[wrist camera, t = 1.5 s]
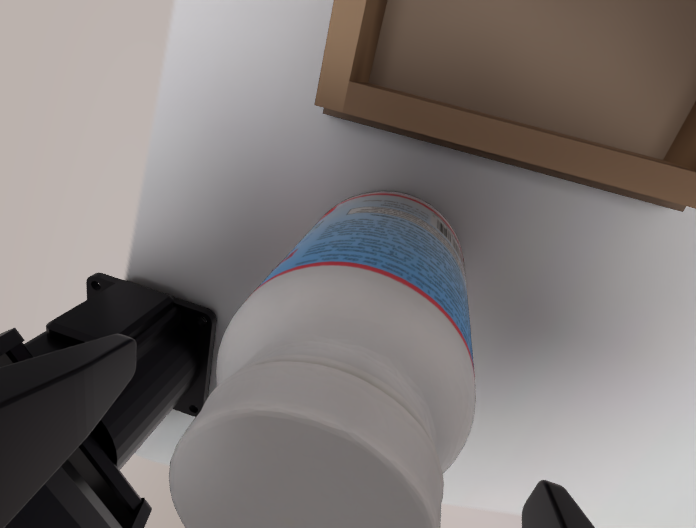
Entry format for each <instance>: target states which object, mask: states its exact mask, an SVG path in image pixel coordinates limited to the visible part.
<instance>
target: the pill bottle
mask: <svg viewBox="0 0 696 528" xmlns="http://www.w3.org/2000/svg"><path fill="white" fill-rule="evenodd" d="M216 381H217V387H216V388H215V389H214V390H213V392H212V393H211V394H210V395H209V397H208V398H207V400H206V402H205V404H204V406H203V407H202V410H201V411H200V413H199V414H198V415H197V417H196V418H195V419H194V421H193V422H192V423H191V425H190V426H189V428H188V429H187V430H186V432H185V433H184V434H183V436H182V438H181V439H180V441H179V442H178V444H177V446H176V449H175V451H174V454H173V456H172V459H171V462H170V472H169V483H170V491H171V496H172V500H173V503H174V506H175V509H176V511H177V513H178V515H179V517H180V519H181V521H182V523H183V524H184V526H185V528H440V521H441V519H440V518H441V502H442V498H443V486H444V483H443V473H444V472H445V471H446V470H447V469H448V468H449V467H450V466H451V464H452V463H453V462H454V461H455V459H456V458H457V456H458V455H459V453H460V452H461V450H462V448H463V447H464V445H465V443H466V440H467V438H468V436H469V433H470V430H471V426H472V423H473V418H474V412H475V401H476V397H475V374H474V364H473V353H472V343H471V331H470V320H469V309H468V299H467V288H466V278H465V268H464V259H463V254H462V250H461V246H460V243H459V240H458V238H457V236H456V234H455V232H454V230H453V228H452V227H451V225H450V224H449V223H448V221H447V220H446V219H445V218H444V217H443V216H442V215H441V214H440V213H439V212H438V211H437V210H436V209H435V208H433V207H432V206H431V205H429V204H427V203H426V202H424V201H422V200H420V199H418V198H416V197H413V196H410V195H407V194H403V193H398V192H386V191H383V192H371V193H365V194H360V195H357V196H354V197H351V198H348V199H346V200H344V201H342V202H341V203H339V204H337V205H336V206H335V207H333V208H332V209H331V210H330V211H329V212H328V213H326V214H325V215H324V216H323V217H322V218H321V219H320V220H319V221H318V223H317V224H316V225H315V226H314V227H313V228H312V229H311V230H310V231H309V232H308V234H307V235H306V236H305V237H304V238H303V239H302V240H301V241H300V242H299V243H298V244H297V245H296V247H295V248H294V249H293V250H292V251H291V252H290V253H289V254H288V255H287V256H286V257H285V258H284V260H283V261H282V262H281V263H280V264H279V265H278V266H277V267H276V268H275V269H274V270H272V272H271V274H270V275H269V276H268V277H267V278H266V279H265V280H264V281H263V282H262V284H261V285H260V286H259V287H258V288H257V289H256V290H255V291H254V292H253V293H252V294H251V295H250V296H249V297H248V299H247V300H246V301H245V302H244V304H243V305H242V306H241V307H240V308H239V310H238V311H237V312H236V314H235V315H234V316H233V318H232V319H231V321H230V323H229V325H228V327H227V329H226V331H225V333H224V336H223V338H222V341H221V345H220V348H219V351H218V358H217V369H216Z"/></svg>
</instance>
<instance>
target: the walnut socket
mask: <svg viewBox="0 0 696 528" xmlns="http://www.w3.org/2000/svg"><path fill="white" fill-rule="evenodd" d="M315 105H316V106H320V107H324V110H323V114H327V115H330V116H334V117H338V118H341V119H345V120H349V121H352V122H356V123H360V124H363V125H367V126H371V127H374V128H378V129H382V130H385V131H389V132H393V133H396V134H400V135H404V136H407V137H411V138H415V139H418V140H422V141H426V142H429V143H433V144H437V145H440V146H444V147H448V148H451V149H455V150H459V151H462V152H466V153H469V154H473V155H477V156H480V157H484V158H488V159H491V160H495V161H499V162H502V163H506V164H510V165H513V166H517V167H521V168H524V169H528V170H532V171H535V172H539V173H543V174H546V175H550V176H554V177H557V178H561V179H565V180H568V181H572V182H576V183H579V184H583V185H587V186H590V187H594V188H598V189H601V190H605V191H609V192H612V193H616V194H620V195H623V196H627V197H631V198H634V199H638V200H642V201H645V202H649V203H652V204H656V205H660V206H663V207H667V208H671V209H674V210H678V211H682V212H683V211H684V209H685V208H686V206H688V207H692V208H696V0H334V3H333V8H332V14H331V19H330V24H329V30H328V35H327V40H326V46H325V51H324V56H323V62H322V67H321V73H320V78H319V83H318V89H317V94H316V99H315Z"/></svg>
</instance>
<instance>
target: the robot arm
mask: <svg viewBox="0 0 696 528" xmlns="http://www.w3.org/2000/svg"><path fill="white" fill-rule="evenodd" d="M98 283H99V284H100V285H99V284H98ZM202 317H204V318H205V319H206V320H207V322H206V321H204V320H203V319H202ZM215 328H216V316H215V314H214V313H213V312H212V311H211V310H210V309H208V308H205V307H202V306H199V305H196V304H193V303H190V302H187V301H184V300H181V299H178V298H175V297H172V296H169V295H167V294H164V293H161V292H158V291H155V290H152V289H149V288H146V287H143V286H140V285H137V284H134V283H131V282H128V281H125V280H121V279H118V278H114V277H112V276H109V275H106V274H103V273H96V274H94V275H92V276H90V277H89V278H88V279H87V300H86V301H85V302H83V303H81V304H80V305H78V306H76V307H74V308H73V309H71V310H69V311H68V312H66V313H64V314H63V315H61V316H59V317H57V318H56V319H54V320H52V321H51V322H49V323H48V324H47V325H46V330H47V331H46V332H44V333H42V334H40V335H39V336H37V337H35V338H34V339H32V340H30V341H29V342H27V343H25V344H23V343H22V342H23V341H24V339H23V338H22V336H21V335H20V334H19V332H18V331H17V330H16V328H13V329H11V330H8V331H6V332H4V333H1V334H0V528H144V527H145V524H146V522H147V520H148V517H149V515H150V512H151V510H152V508H151V507H150V505H149V504H148V503H147V501H146V500H145V499H144V498H140V497H139V495H138V494H137V493H136V492H135V490H134V489H133V487H132V486H131V485H130V484H129V482H128V481H127V480H126V478H125V477H124V476H123V474H122V473H121V472H120V469H121V468H122V467H123V466H124V464H125V463H126V462H127V461H128V460H129V459H130V457H131V456H132V455H133V454H134V453H135V452H136V450H137V449H138V448H139V447H140V446H141V445H142V443H143V442H144V441H145V440H146V439H147V438H148V436H149V435H150V434H151V433H152V432H153V431H154V429H155V428H156V427H157V426H158V425H159V424H160V422H161V421H162V420H163V419H164V418H165V417H166V416H167V414H168V413H169V412H170V411H171V410H172V409H175V410H178V411H180V412H183V413H186V414H189V415H191V416H195V417H197V415H198V414H199V413H200V411H201V410H202V407H203V406H204V404H205V402H206V400H207V397H208V389H209V380H210V371H211V363H212V354H213V345H214V337H215ZM522 528H595V527H594V526H593V525H592V523H591V522H590V521H589V519H588V518H587V517H586V515H585V514H584V513H583V511H582V510H581V509H580V507H579V506H578V505H577V504H576V502H575V501H574V500H573V498H572V497H571V496H570V494H569V493H568V492H567V490H566V489H565V488H564V487H562V486H560V485H558V484H555V483H552V482H549V481H546V480H541V481H540V482H539V483H538V484H537V485H536V487H535V489H534V490H533V492H532V493H531V495H530V496H529V498H528V500H527V501H526V503H525V505H524V507H523V511H522Z"/></svg>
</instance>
